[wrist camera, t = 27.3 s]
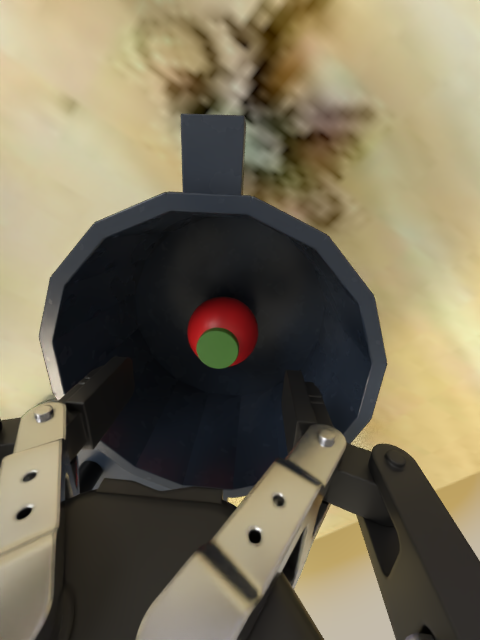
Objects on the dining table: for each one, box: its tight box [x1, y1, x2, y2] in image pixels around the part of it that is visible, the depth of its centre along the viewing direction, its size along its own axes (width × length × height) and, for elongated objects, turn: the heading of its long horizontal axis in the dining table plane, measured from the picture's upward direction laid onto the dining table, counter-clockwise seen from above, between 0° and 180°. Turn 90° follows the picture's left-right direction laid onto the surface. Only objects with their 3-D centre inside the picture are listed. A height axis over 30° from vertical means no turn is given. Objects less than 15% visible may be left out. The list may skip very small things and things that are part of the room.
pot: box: [39, 114, 387, 502], centre depth 17 cm, size 17×22×10 cm
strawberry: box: [187, 297, 258, 369], centre depth 18 cm, size 5×5×6 cm
